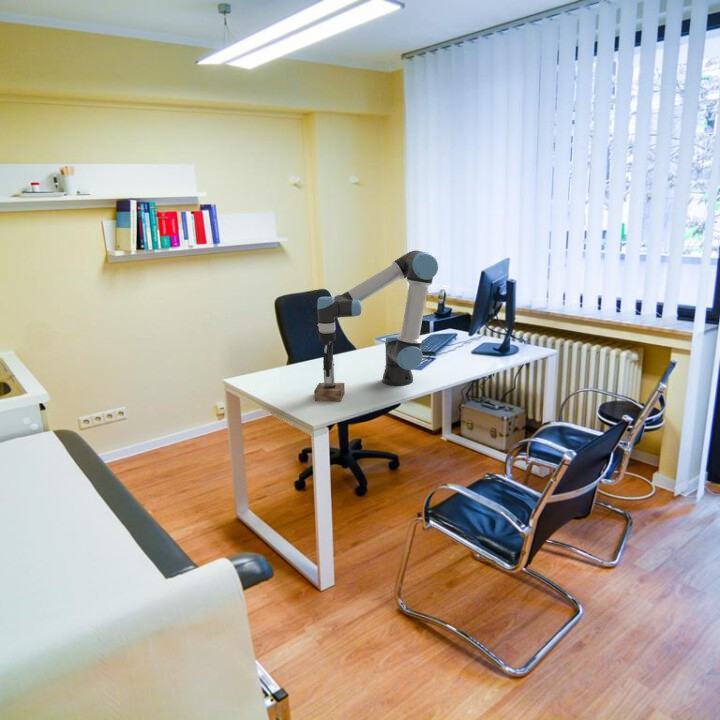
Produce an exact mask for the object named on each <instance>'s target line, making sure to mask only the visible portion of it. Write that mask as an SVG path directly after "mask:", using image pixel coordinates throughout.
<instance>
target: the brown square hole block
mask: <svg viewBox="0 0 720 720" xmlns="http://www.w3.org/2000/svg"><path fill="white" fill-rule="evenodd" d="M313 393H314V402H342V401H343V398H344V396H345V383H344V382H334V386H324V382H318V384H317V385H316V387H315V389H314V391H313Z"/></svg>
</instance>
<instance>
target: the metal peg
mask: <svg viewBox="0 0 720 720" xmlns="http://www.w3.org/2000/svg"><path fill="white" fill-rule="evenodd" d="M322 361H323V365H322V366H323V368H324V360H322ZM330 368H331V380H332V383H325V370H323V379H324V380H323V383H324V386H334V383H335V364H334V357H333V358H330Z"/></svg>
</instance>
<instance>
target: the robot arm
mask: <svg viewBox="0 0 720 720" xmlns="http://www.w3.org/2000/svg"><path fill="white" fill-rule="evenodd" d="M438 271H439V263H438V258H436V256H435V255H433V254H431V253H429V252H427V251H422V250H421V251H420V250H411V251H409V252H407V253H405V254H404V255H402V256H400V257H399V258H397V259H395V260H393V261H392V263H391V265H389V266H387V267H386V268H385V269H383V270H381V271H379V272H378V273H376V274H374V275H372V276H370V278H368V279H366V280H364V281H363V282H361V283H358V284H357V285H355V286H354V287H353V288H350V289H349V290H347V291H345V292H344V293H342V294H336V295H335V296H334V297H333V296H320V297H318V298H317V320H318V321H317V322H318V324H317V325H316V326H317V327H318V331H319V332H318V340H319V341H320V342H323V344H322V356H323V358H322V359H323V360H324V367H323V368H322V370H323V371H324V370H325V383H332V380H331V368H330V358H333V359H334V351H333V350H334V349H333V346H334V345H333V344H334V343H333V342H334V341H336V337H337V335H336V330H337V329H336V319H338V318H350V317H352V318H354V317H359V316H361V315H362V303H361V302H363V301H365V300H366V299H368V298H370V297H371V296H374V295H375V294H377V293H379V292H380V291H383V289H385V288H387V287H389V286H390V285H392V284H394V283H396V282H397V281H399V280H404V279H406V281H407V282H408V284H409V285H408V290H407V297H406V302H405V307H404V315H403V322H402V327H401V334H399V335H398V334H397V335H389V336H388V335H387V336H386V338H385V343H384V345H385V368H384V371H383V374H382V382H383V384H386V385H389V386H406V385H409V384H412V383H413V382H414V375H413V373H412V372H413V371H412V370H415V369H416V368H418V367H419V366H420V365H421V363H422V361H423V359H424V358H423V357H424V356H423V355H424V354H423V352H422V340H421V338H420V336H421V329H422V324H423V323H422V322H423V317H424V313H425V312H424V311H425V306H426V299H427V293H428V288H429V287H430V286H431V285H432V284H433V278H434V277H435V276H436V275H437V274H438ZM323 360H322V361H323Z"/></svg>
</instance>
